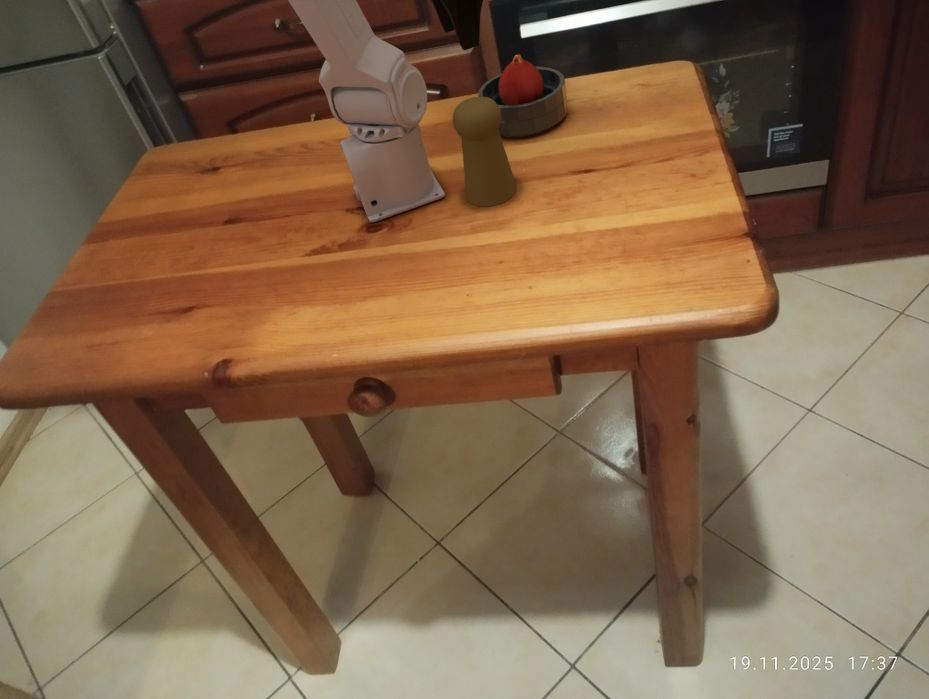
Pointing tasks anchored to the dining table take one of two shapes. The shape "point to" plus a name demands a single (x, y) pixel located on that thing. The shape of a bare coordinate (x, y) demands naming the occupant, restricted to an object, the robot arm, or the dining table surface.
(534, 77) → the onion
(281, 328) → the dining table surface
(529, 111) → the bowl
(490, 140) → the olive pawn
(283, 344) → the dining table surface
